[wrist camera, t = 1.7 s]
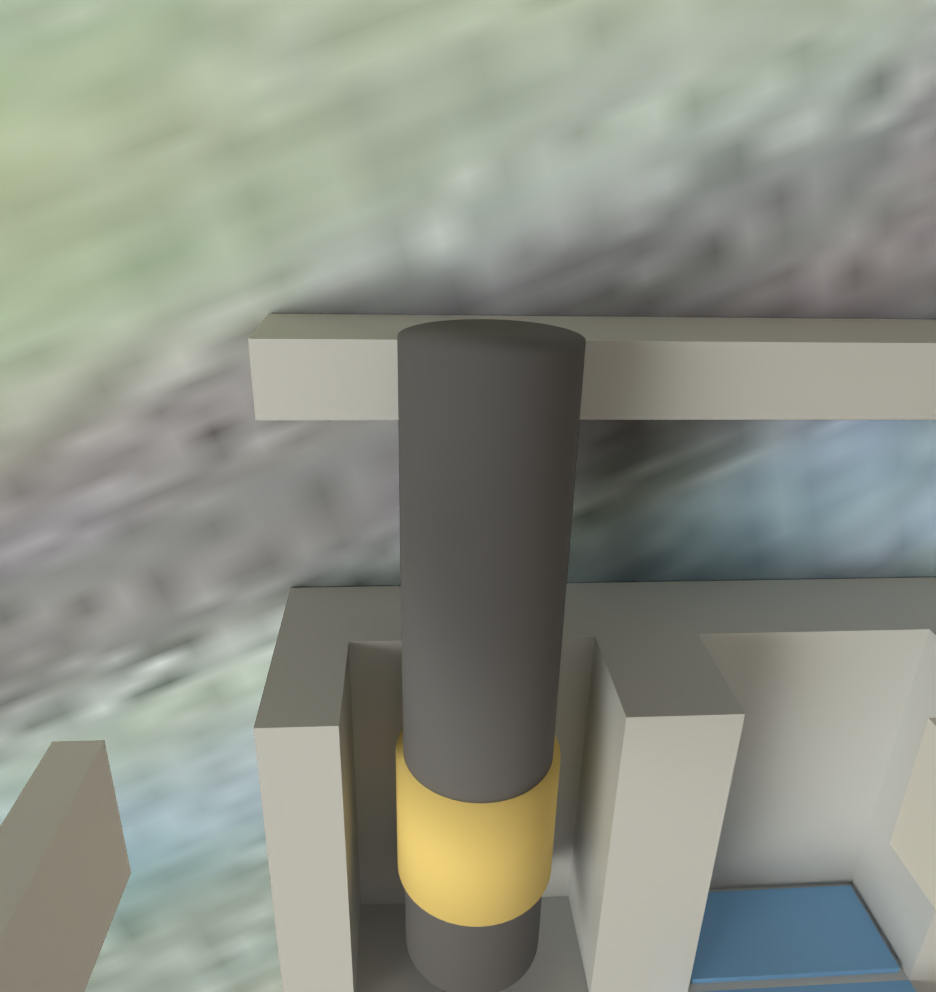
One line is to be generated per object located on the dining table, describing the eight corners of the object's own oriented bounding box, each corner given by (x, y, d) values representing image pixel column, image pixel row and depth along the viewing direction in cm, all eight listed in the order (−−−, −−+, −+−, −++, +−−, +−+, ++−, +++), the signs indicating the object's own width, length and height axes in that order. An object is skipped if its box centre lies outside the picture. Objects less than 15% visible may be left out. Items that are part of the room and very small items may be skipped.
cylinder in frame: (268, 313, 21) (181, 421, 13) (1042, 320, 23) (1399, 419, 15) (312, 865, 30) (276, 1143, 21) (876, 841, 31) (1044, 1091, 23)
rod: (389, 316, 19) (384, 359, 15) (573, 318, 19) (618, 360, 15) (399, 875, 26) (398, 1008, 22) (533, 869, 26) (556, 999, 22)
